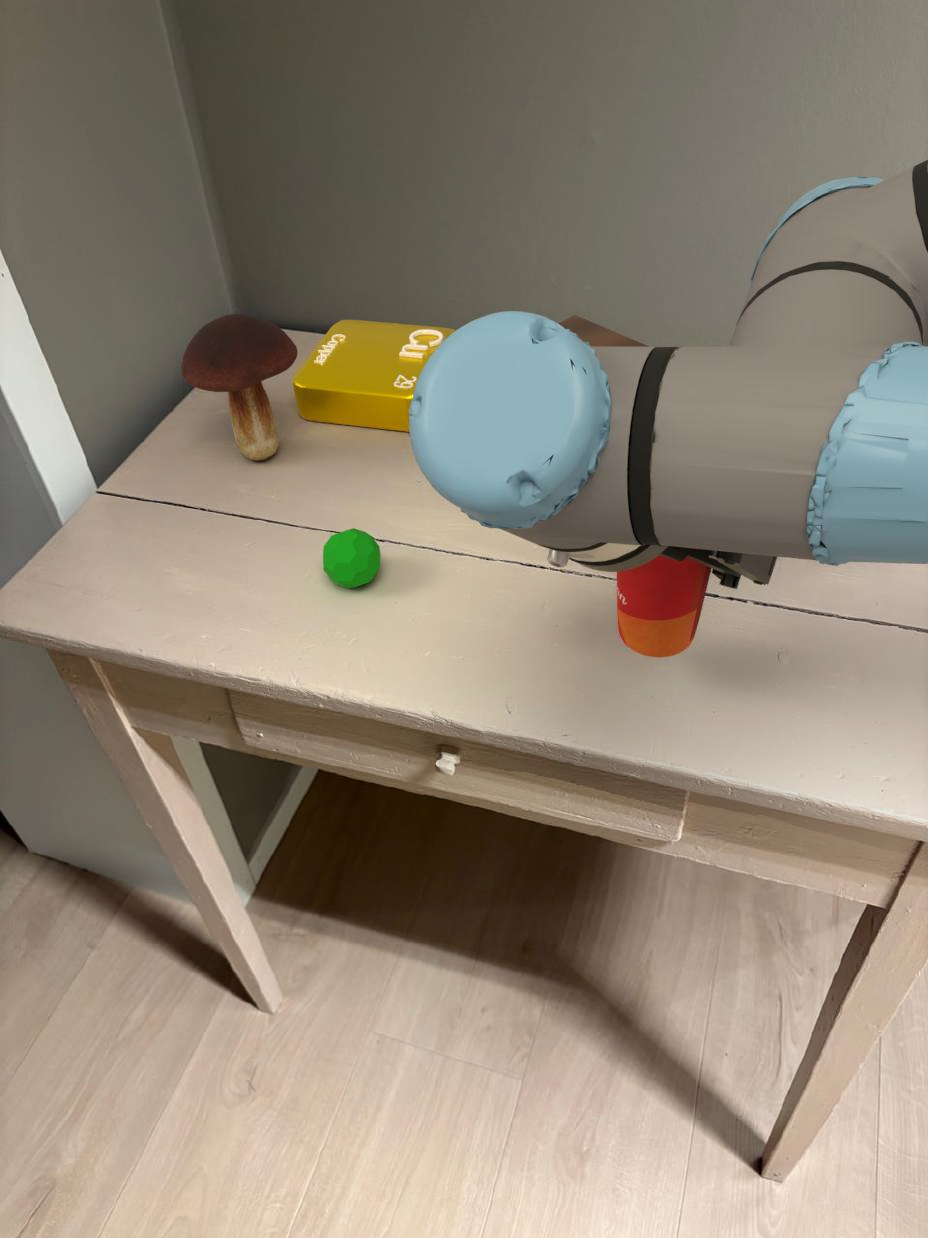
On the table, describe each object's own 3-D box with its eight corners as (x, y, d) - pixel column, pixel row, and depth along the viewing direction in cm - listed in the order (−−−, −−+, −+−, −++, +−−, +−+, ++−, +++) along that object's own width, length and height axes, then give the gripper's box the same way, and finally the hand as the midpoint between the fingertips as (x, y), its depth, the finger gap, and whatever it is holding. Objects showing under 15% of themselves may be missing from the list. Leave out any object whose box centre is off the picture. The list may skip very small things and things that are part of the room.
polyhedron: (386, 594, 81) (379, 551, 78) (328, 602, 81) (319, 559, 77) (380, 556, 85) (374, 514, 81) (325, 564, 84) (316, 521, 81)
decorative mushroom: (222, 499, 92) (182, 358, 82) (196, 443, 99) (156, 306, 89) (330, 468, 95) (304, 327, 85) (297, 415, 102) (270, 279, 92)
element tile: (342, 351, 112) (336, 312, 109) (466, 362, 108) (464, 323, 105) (292, 420, 102) (284, 379, 98) (427, 435, 98) (423, 394, 95)
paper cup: (646, 581, 74) (661, 425, 64) (731, 627, 70) (760, 468, 60) (580, 634, 70) (585, 476, 61) (665, 686, 66) (685, 526, 56)
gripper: (400, 509, 52) (532, 561, 73) (782, 622, 44) (807, 643, 65) (441, 375, 51) (562, 466, 72) (834, 464, 43) (842, 537, 64)
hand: (678, 550), depth 69 cm, fingers closed on paper cup, 8 cm apart
